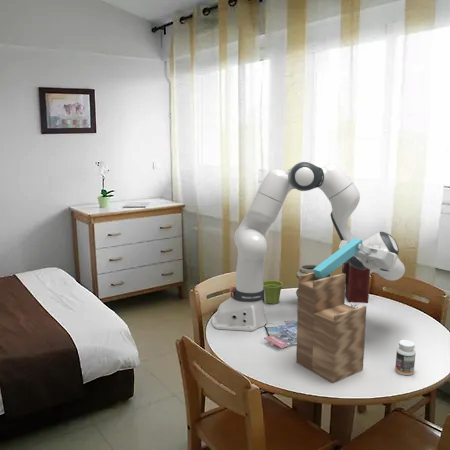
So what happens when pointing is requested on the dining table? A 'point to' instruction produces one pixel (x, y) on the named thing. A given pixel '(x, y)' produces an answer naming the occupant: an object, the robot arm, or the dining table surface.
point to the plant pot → (272, 291)
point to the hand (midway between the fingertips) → (352, 244)
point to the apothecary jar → (305, 271)
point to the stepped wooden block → (329, 328)
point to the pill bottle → (405, 357)
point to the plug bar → (337, 259)
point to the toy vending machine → (356, 283)
